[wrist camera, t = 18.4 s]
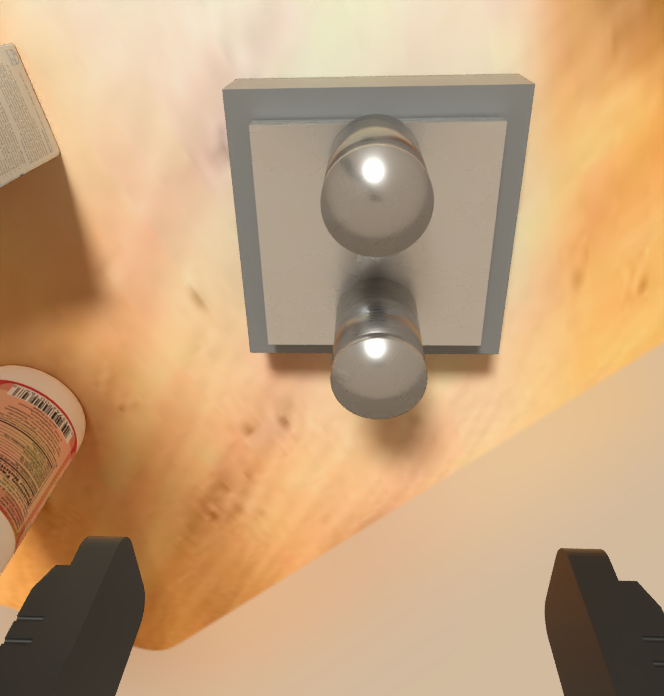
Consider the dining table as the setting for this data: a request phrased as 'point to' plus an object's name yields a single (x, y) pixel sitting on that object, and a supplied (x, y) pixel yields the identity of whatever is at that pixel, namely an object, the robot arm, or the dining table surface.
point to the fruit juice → (32, 447)
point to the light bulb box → (21, 121)
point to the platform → (349, 268)
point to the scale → (399, 102)
